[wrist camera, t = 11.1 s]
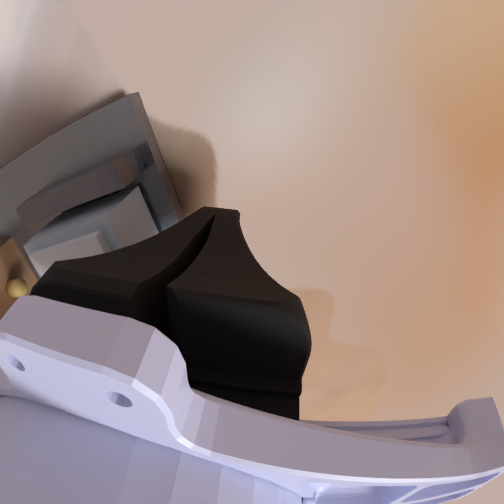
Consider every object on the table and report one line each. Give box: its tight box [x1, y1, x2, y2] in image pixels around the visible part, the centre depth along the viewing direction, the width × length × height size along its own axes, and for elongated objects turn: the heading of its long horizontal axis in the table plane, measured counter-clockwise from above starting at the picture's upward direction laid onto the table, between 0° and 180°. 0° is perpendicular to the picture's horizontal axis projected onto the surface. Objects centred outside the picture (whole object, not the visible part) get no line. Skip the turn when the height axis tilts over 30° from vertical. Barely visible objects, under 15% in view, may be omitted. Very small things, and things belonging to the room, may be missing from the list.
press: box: [0, 92, 186, 280], centre depth 15 cm, size 12×20×4 cm, turn 106°
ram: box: [23, 186, 159, 277], centre depth 13 cm, size 5×5×3 cm
